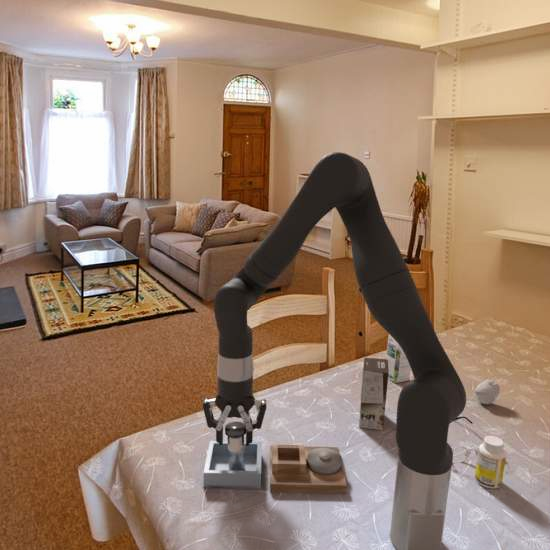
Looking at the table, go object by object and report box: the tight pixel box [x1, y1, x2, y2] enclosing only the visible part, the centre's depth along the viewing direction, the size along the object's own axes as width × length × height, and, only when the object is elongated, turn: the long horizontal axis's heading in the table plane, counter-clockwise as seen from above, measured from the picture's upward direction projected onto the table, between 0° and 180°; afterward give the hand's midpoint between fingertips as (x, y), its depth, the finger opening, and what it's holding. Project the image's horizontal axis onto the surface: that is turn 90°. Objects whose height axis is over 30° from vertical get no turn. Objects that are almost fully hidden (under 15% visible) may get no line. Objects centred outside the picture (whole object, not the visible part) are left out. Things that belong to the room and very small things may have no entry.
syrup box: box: [385, 333, 411, 384], centre depth 162 cm, size 6×6×14 cm
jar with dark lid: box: [224, 421, 246, 471], centre depth 114 cm, size 5×5×10 cm
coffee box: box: [358, 357, 389, 431], centre depth 136 cm, size 9×6×16 cm
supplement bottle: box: [474, 435, 507, 490], centre depth 113 cm, size 6×6×10 cm
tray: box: [203, 440, 263, 490], centre depth 115 cm, size 12×12×4 cm
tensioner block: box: [269, 444, 348, 495], centre depth 115 cm, size 14×16×5 cm
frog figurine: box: [474, 378, 501, 405], centre depth 149 cm, size 6×7×7 cm
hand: (234, 443), depth 114 cm, fingers open, 5 cm apart
